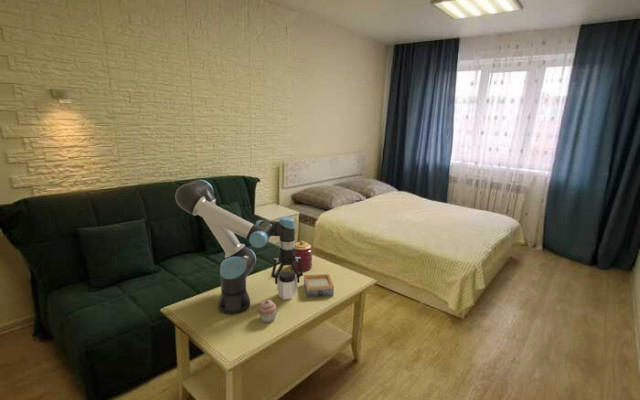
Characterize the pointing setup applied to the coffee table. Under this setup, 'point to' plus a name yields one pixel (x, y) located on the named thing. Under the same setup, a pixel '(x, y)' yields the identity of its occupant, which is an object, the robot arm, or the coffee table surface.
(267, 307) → the cupcake
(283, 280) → the jar
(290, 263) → the robot arm
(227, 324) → the coffee table surface
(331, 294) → the small square box
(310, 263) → the canister
